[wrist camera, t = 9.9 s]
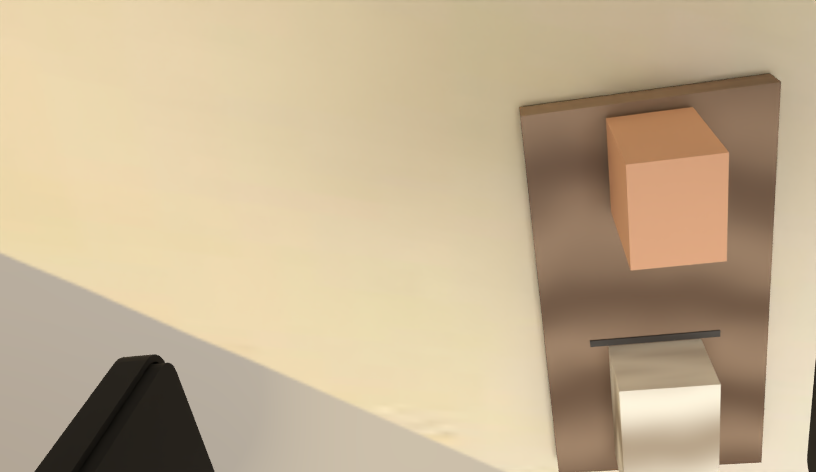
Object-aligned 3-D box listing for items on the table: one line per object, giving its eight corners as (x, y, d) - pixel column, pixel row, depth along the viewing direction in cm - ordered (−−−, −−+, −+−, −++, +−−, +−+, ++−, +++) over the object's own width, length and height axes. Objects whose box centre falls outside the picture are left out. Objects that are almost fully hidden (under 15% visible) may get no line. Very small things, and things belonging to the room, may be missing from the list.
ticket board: (753, 444, 46) (784, 514, 41) (557, 456, 48) (564, 524, 43) (770, 73, 36) (814, 108, 31) (519, 107, 38) (523, 144, 33)
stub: (693, 202, 37) (726, 261, 32) (611, 211, 38) (630, 270, 32) (692, 106, 35) (729, 152, 30) (605, 118, 36) (625, 164, 30)
